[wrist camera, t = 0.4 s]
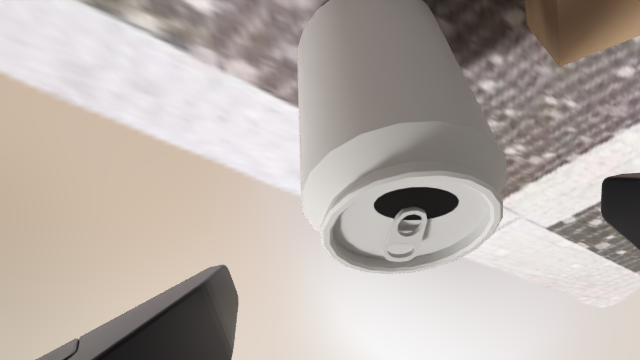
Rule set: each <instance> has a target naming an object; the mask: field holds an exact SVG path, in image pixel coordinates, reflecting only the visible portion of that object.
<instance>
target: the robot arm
mask: <svg viewBox="0 0 640 360" xmlns="http://www.w3.org/2000/svg"><path fill="white" fill-rule="evenodd" d="M601 213H602V216H603V218H604V220H605V221H606V222H607V223H608V224H609V225H610V226H612V227H613V228H614V229H615V230H616V231H617V232H619V233H620V234H621V235H622V236H623V237H625V238H626V239H627V240H628V241H629V242H630V243H632V244H633V245H634V246H635V247H636V248H638V249H639V250H640V173H631V174H620V175H616V176H611V177H608V178H606V179H605V180H604V181H603V183H602V195H601ZM237 312H238V295H237V291H236V289H235V286H234V283H233V280H232V278H231V275H230V272H229V270H228V268H227V267H226V266H225V265H218V266H214V267H210V268H208V269H206V270H204V271H202V272H200V273H198V274H197V275H195V276H193V277H191V278H189V279H187V280H185V281H183V282H181V283H180V284H178V285H176V286H174V287H172V288H170V289H168V290H167V291H165V292H163V293H161V294H159V295H157V296H155V297H154V298H152V299H150V300H148V301H146V302H145V303H142V304H141V305H139V306H137V307H135V308H133V309H131V310H129V311H127V312H126V313H124V314H122V315H120V316H118V317H116V318H114V319H113V320H111V321H109V322H107V323H105V324H103V325H101V326H100V327H98V328H96V329H94V330H92V331H90V332H89V333H87V334H85V335H83V336H81V337H80V339H79V340H78V339H74V340H72V341H70V342H69V343H66V344H65V345H63V346H61V347H59V348H57V349H55V350H53V351H52V352H50V353H48V354H46V355H44V356H42V357H40V358H38V359H36V360H231V358H232V353H233V347H234V339H235V330H236V321H237V320H236V319H237Z"/></svg>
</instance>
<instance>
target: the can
mask: <svg viewBox="0 0 640 360" xmlns="http://www.w3.org/2000/svg"><path fill="white" fill-rule="evenodd" d="M297 56H298V94H299V132H300V170H301V198H302V208H303V214H304V215H305V216H306V218H307V220H308V221H309V223H310V224H311V226H312V227H313V228H314V229H315V230H316V231H318V232H319V233H320V234H321V244H322V245H323V247H324V248H325V249H326V251H327V253H328V254H329V255H330V256H331V257H332V258H334V259H336V260H337V261H339V262H340V263H342V264H344V265H345V266H347V267H351V268H354V269H357V270H361V271H365V272H372V273H382V274H394V273H395V274H396V273H411V272H416V271H421V270H426V269H431V268H435V267H438V266H441V265H444V264H447V263H449V262H452V261H455V260H457V259H459V258H461V257H463V256H465V255H466V254H468V253H470V252H472V251H474V250H475V249H477V248H478V247H479V246H480V245H482V244H483V243H484V242H485V241H486V240H487V239H488V238H489V237H491V236H492V235H493V233H494V232H495V230H496V228H497V226H498V225H499V223H500V221H501V219H502V218H503V201H502V199H501V197H500V196H499V195H500V193H501V192H502V190H503V188H504V186H505V184H506V176H507V161H506V159H505V157H504V155H503V153H502V151H501V149H500V147H499V145H498V143H497V141H496V139H495V137H494V135H493V133H492V131H491V129H490V127H489V125H488V123H487V121H486V119H485V117H484V115H483V113H482V111H481V109H480V107H479V105H478V103H477V101H476V99H475V97H474V95H473V92H472V90H471V88H470V86H469V84H468V82H467V80H466V78H465V76H464V74H463V72H462V70H461V68H460V66H459V64H458V62H457V60H456V58H455V56H454V54H453V52H452V50H451V48H450V46H449V44H448V42H447V40H446V38H445V36H444V34H443V32H442V30H441V28H440V26H439V24H438V22H437V20H436V19H435V17H434V15H433V13H432V11H431V10H430V8H429V6H428V5H427V4H426V3H425V2H423V1H422V0H329V1H328V2H327V3H325V4H324V5H323V6H322V7H320V8H319V9H318V10H316V12H315V13H314V15H313V16H312V18H311V19H310V21H309V22H308V24H307V25H306V27H305V28H304V29H303V32H302V36H301V39H300V43H299V47H298V50H297Z"/></svg>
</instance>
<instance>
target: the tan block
mask: <svg viewBox="0 0 640 360" xmlns="http://www.w3.org/2000/svg"><path fill="white" fill-rule="evenodd" d="M524 1H525V11H526V21H527V26H528V27H529V29H530V30H531V31H532V32H533V34H534V35H535V36H536V37H537V39H538V40H539V41H540V43H541V44H542V45H543V46H544V48H545V49H546V50H547V51H548V53H549V54H550V55H551V57H552V58H553V59H554V60H555V62H556V63H557V64H558V65H559V67H560V66H562V65H565V64H567V63H570V62H573V61H575V60H578V59H580V58H583V57H585V56H588V55H591V54H593V53H596V52H598V51H601V50H603V49H606V48H609V47H611V46H614V45H616V44H619V43H621V42H624V41H627V40H629V39H632V38H634V37H637V36H639V35H640V0H524Z"/></svg>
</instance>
